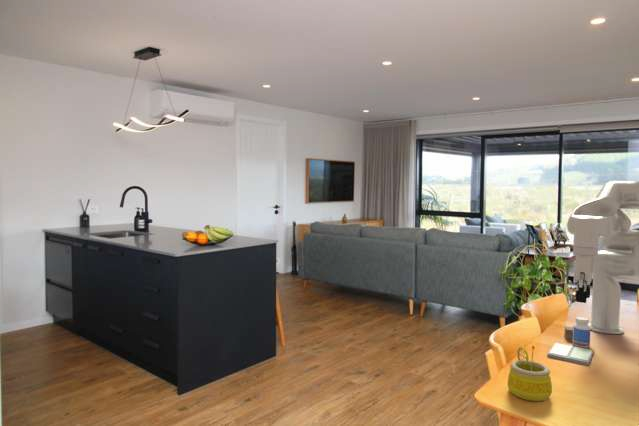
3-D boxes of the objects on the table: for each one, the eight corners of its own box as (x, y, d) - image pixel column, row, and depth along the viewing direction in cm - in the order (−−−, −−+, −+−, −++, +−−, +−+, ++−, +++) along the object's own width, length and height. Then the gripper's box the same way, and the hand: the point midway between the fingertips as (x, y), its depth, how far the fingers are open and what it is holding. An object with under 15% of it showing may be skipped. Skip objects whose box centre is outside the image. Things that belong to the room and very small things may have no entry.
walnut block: (564, 336, 174) (564, 326, 174) (576, 338, 173) (576, 327, 172) (565, 339, 170) (566, 329, 170) (577, 341, 169) (578, 330, 169)
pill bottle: (592, 348, 161) (593, 321, 161) (575, 347, 162) (576, 320, 162) (586, 343, 167) (587, 317, 166) (570, 342, 168) (571, 315, 167)
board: (554, 345, 164) (554, 342, 164) (593, 352, 157) (593, 349, 157) (547, 356, 153) (547, 353, 153) (588, 365, 146) (588, 361, 146)
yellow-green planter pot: (549, 408, 117) (551, 362, 116) (504, 397, 123) (505, 353, 122) (554, 389, 128) (556, 347, 127) (512, 380, 134) (513, 340, 133)
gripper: (576, 248, 171) (574, 294, 172) (569, 253, 158) (567, 302, 158) (600, 250, 167) (597, 297, 168) (594, 255, 153) (592, 306, 154)
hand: (582, 299), depth 163 cm, fingers open, 9 cm apart
